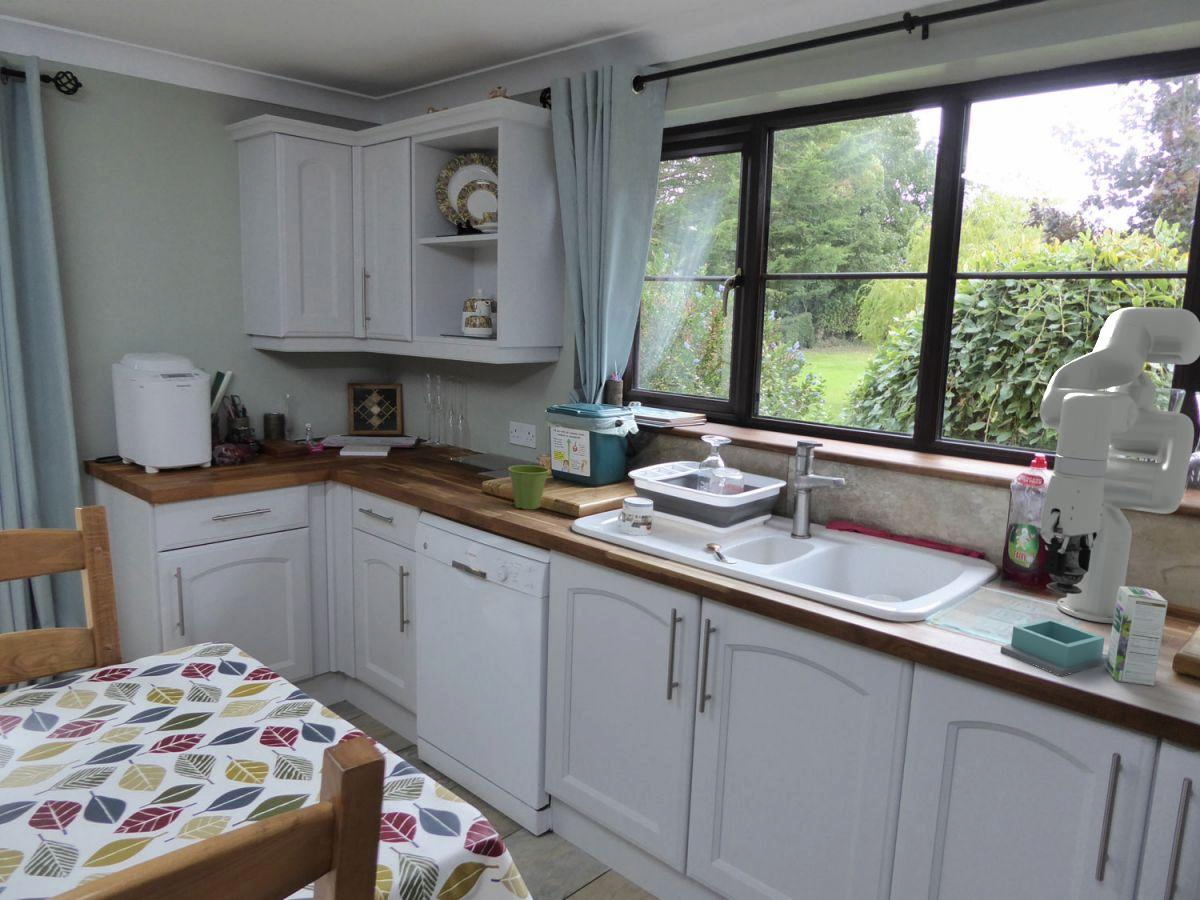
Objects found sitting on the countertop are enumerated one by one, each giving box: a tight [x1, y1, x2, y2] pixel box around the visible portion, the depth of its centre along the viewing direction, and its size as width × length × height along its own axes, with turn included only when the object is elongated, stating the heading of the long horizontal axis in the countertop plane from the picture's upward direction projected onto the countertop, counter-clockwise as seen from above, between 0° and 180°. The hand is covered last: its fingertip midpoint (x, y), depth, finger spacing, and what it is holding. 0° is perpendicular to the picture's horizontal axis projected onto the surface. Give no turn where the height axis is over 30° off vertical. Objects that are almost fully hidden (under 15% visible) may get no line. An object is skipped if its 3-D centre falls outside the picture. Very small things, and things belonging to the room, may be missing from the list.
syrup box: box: [1105, 586, 1169, 687], centre depth 136 cm, size 6×6×14 cm
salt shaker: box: [1046, 535, 1086, 594], centre depth 141 cm, size 6×6×12 cm
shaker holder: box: [1000, 618, 1108, 677], centre depth 144 cm, size 14×11×4 cm
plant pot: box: [507, 464, 551, 511], centre depth 240 cm, size 12×12×11 cm
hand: (1066, 571), depth 142 cm, fingers closed on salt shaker, 5 cm apart
